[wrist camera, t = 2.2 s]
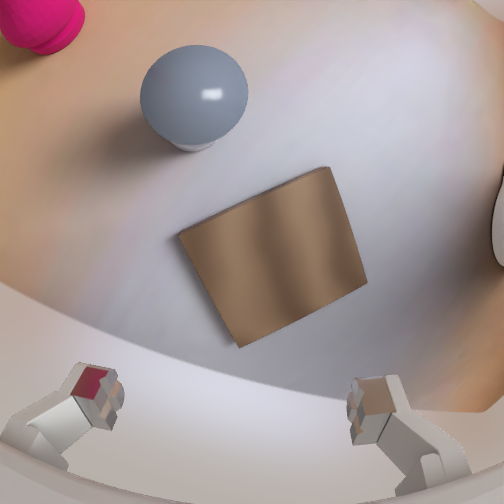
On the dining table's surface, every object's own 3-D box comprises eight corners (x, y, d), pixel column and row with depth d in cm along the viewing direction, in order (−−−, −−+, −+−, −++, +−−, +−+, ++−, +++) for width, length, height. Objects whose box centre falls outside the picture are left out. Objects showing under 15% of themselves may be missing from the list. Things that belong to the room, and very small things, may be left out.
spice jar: (210, 83, 24) (223, 31, 13) (235, 138, 26) (264, 119, 15) (151, 109, 24) (125, 71, 13) (176, 164, 25) (165, 162, 15)
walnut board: (322, 166, 28) (329, 166, 26) (360, 277, 31) (367, 282, 30) (179, 232, 27) (178, 236, 25) (236, 339, 31) (239, 348, 29)
